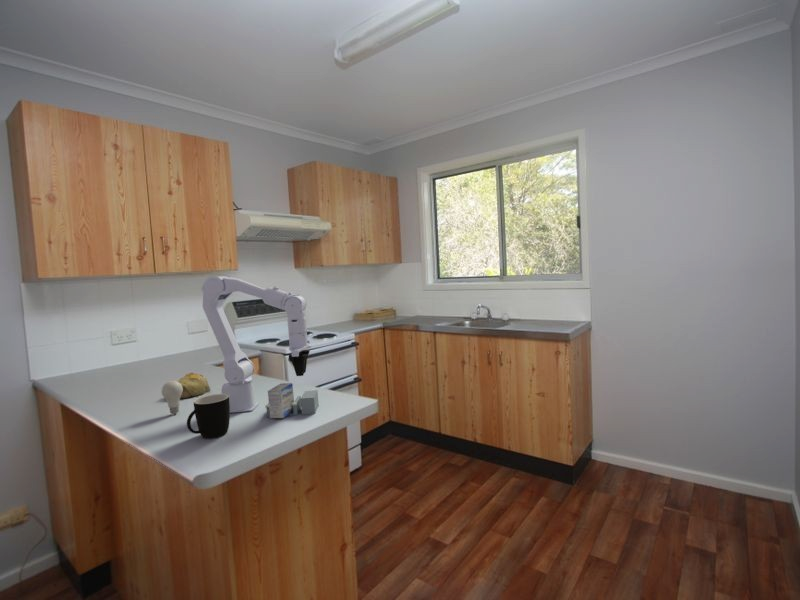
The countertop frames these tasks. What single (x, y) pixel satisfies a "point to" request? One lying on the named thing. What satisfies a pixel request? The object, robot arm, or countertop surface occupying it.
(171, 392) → the lightbulb
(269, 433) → the countertop surface
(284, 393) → the medicine box
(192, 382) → the pastry
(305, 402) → the dispenser
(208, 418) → the mug
